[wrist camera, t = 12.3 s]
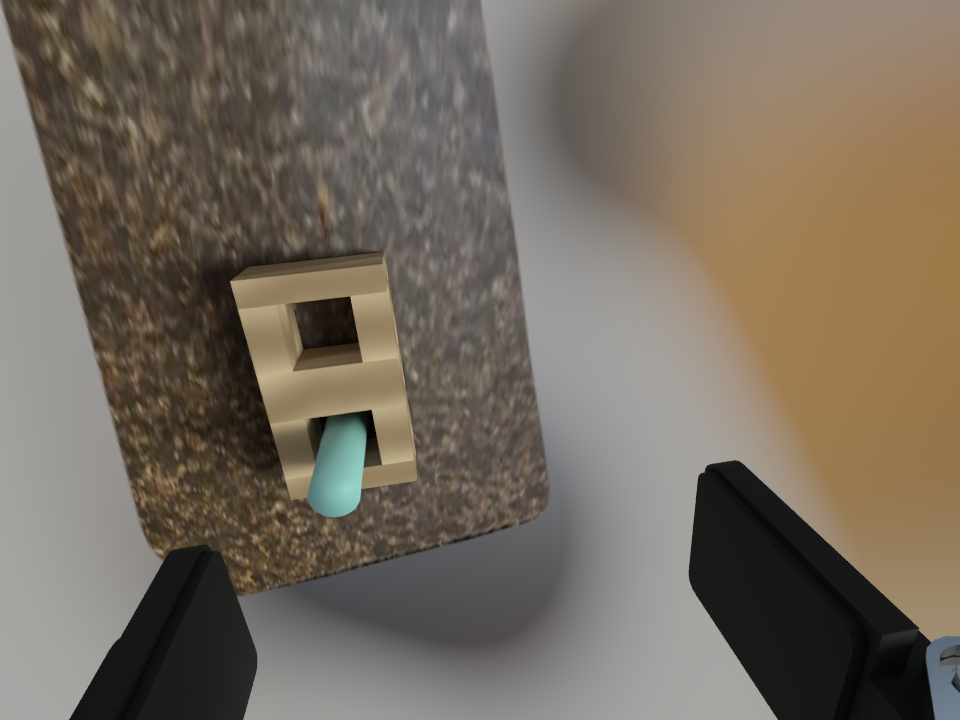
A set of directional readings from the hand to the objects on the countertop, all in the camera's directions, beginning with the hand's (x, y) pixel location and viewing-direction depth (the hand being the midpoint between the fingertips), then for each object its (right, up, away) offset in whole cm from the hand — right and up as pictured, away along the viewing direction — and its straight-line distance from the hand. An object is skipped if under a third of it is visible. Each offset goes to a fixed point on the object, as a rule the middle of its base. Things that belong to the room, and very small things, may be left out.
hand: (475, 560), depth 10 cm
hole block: (-10, +3, +28) cm, 30 cm away
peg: (-10, 0, +29) cm, 31 cm away
